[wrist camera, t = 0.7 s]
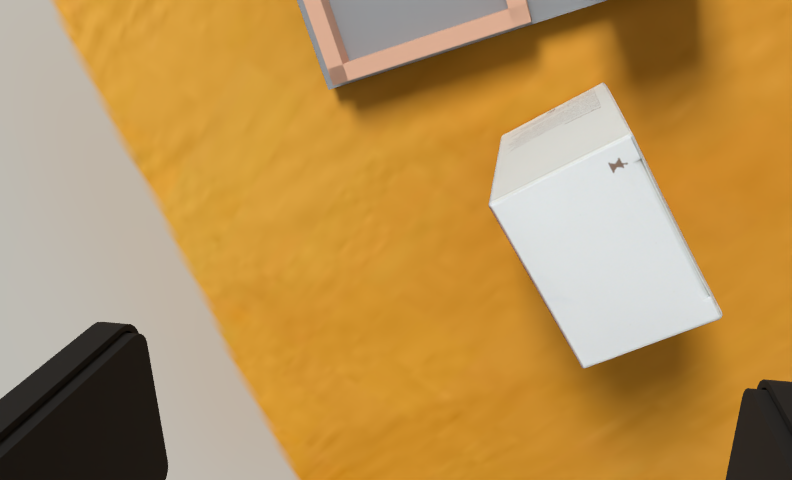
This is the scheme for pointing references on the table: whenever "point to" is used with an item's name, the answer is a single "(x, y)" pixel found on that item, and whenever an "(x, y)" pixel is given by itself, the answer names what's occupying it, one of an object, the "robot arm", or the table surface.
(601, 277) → the small box
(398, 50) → the assembly board
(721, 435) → the table surface
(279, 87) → the table surface
